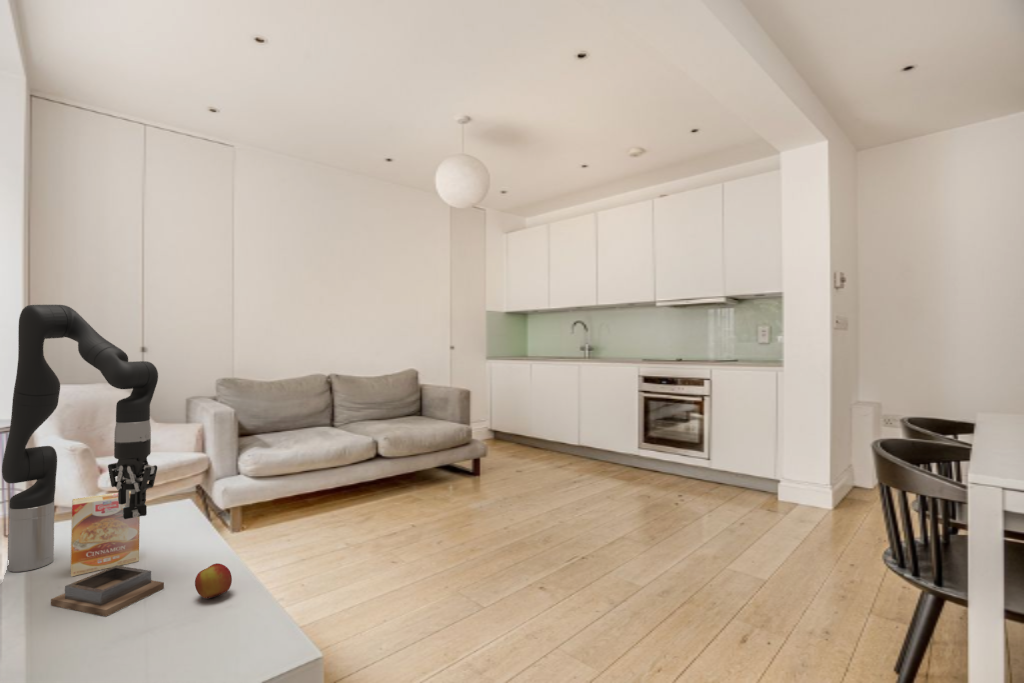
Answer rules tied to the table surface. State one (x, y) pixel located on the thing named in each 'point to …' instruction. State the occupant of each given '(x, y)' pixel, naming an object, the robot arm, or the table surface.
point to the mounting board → (109, 606)
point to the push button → (132, 502)
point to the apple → (213, 581)
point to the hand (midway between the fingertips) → (132, 504)
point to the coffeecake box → (102, 534)
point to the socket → (89, 593)
